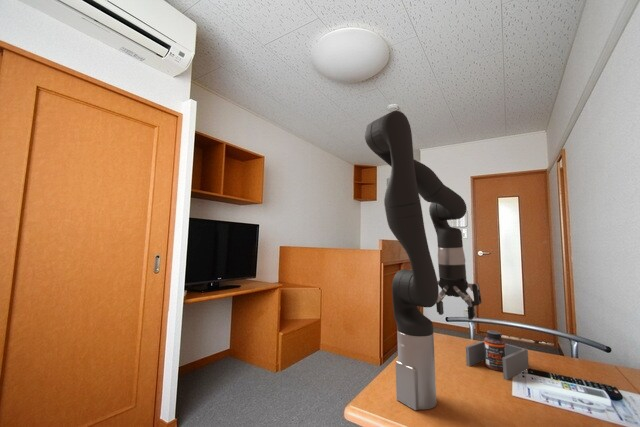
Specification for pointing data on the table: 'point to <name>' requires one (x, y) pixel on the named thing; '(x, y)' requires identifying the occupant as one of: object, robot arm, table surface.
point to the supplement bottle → (494, 350)
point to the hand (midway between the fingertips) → (455, 316)
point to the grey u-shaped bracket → (511, 362)
